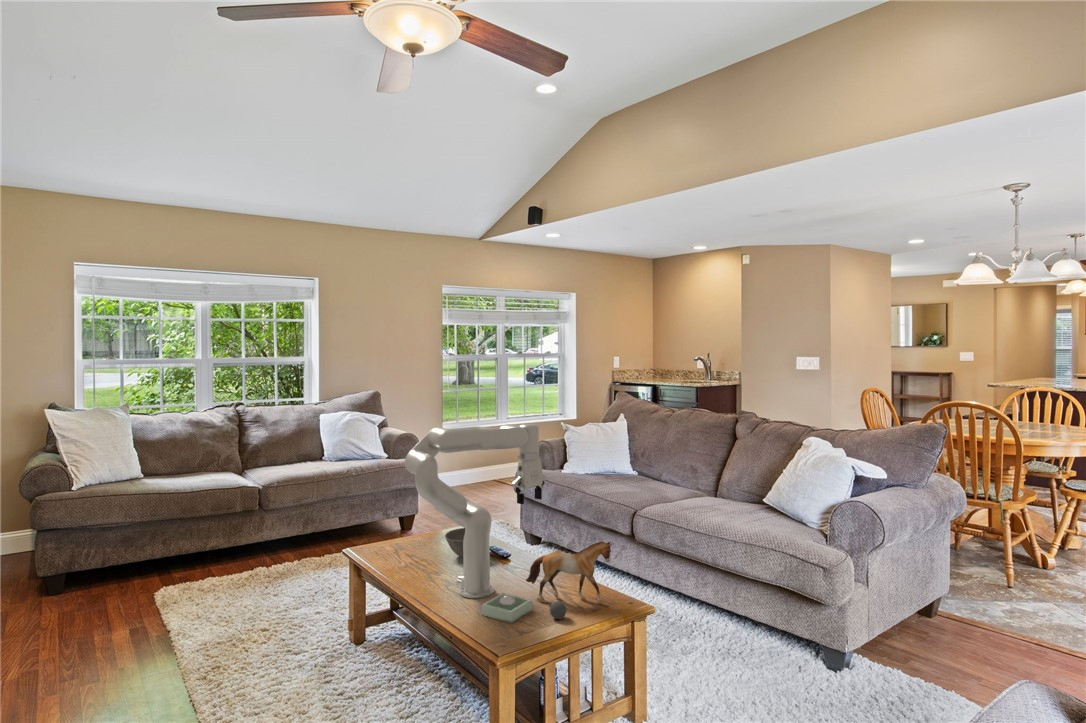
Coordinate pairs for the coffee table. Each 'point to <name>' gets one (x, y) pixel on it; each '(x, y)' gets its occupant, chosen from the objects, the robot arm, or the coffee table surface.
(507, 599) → the steel ball
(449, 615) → the coffee table surface
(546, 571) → the horse figurine
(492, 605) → the tray
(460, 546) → the bowl
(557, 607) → the rubber ball
